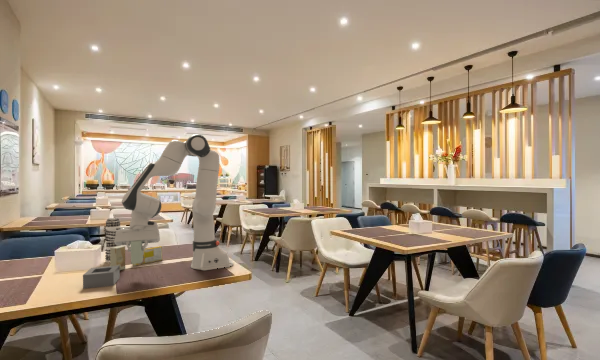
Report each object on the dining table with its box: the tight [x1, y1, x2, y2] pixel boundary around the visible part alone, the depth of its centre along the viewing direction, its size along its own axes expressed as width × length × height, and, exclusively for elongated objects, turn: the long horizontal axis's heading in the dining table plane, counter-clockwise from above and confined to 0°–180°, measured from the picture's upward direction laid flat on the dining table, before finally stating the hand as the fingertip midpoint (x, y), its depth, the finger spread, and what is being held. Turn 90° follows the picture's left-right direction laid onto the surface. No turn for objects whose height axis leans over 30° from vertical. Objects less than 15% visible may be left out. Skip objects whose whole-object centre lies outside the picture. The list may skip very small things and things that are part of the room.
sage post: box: [130, 241, 143, 265], centre depth 157 cm, size 4×4×10 cm
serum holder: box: [82, 265, 121, 289], centre depth 151 cm, size 12×12×6 cm
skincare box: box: [109, 245, 126, 271], centre depth 172 cm, size 6×4×12 cm
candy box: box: [132, 245, 163, 266], centre depth 187 cm, size 16×2×8 cm, turn 136°
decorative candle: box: [103, 217, 122, 263], centre depth 192 cm, size 9×9×25 cm
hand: (136, 250), depth 156 cm, fingers closed on sage post, 4 cm apart
